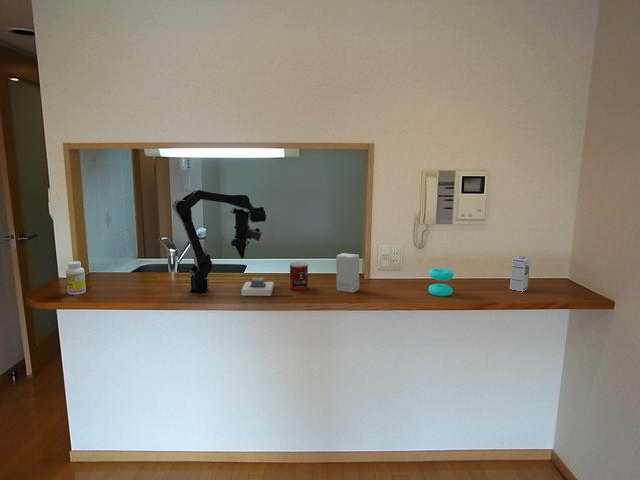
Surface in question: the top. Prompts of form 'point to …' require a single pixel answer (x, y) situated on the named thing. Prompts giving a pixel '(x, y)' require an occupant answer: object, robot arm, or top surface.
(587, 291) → the top surface
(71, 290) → the supplement bottle
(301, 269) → the canned food
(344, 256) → the skincare box
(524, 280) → the syrup box
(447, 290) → the donuts
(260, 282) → the plug
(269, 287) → the socket plate
